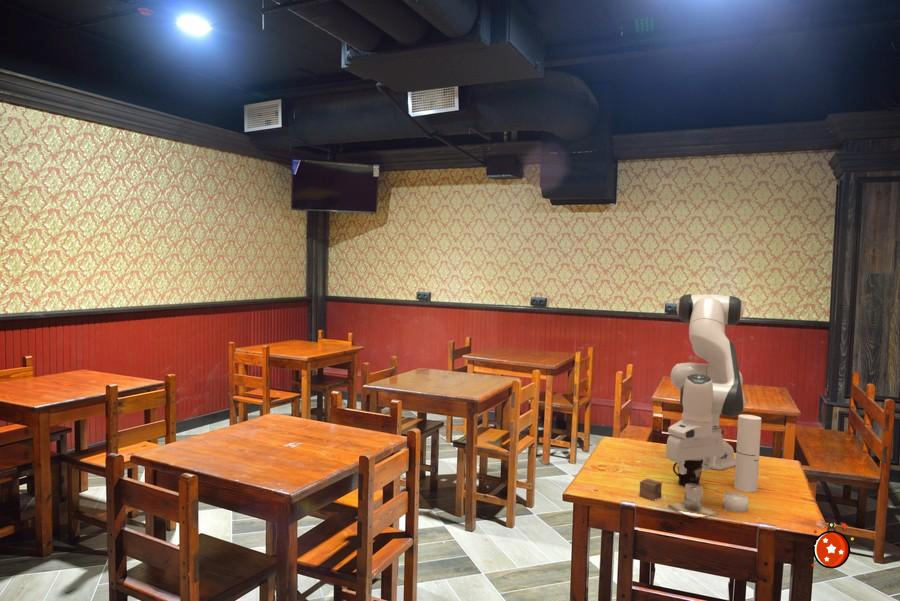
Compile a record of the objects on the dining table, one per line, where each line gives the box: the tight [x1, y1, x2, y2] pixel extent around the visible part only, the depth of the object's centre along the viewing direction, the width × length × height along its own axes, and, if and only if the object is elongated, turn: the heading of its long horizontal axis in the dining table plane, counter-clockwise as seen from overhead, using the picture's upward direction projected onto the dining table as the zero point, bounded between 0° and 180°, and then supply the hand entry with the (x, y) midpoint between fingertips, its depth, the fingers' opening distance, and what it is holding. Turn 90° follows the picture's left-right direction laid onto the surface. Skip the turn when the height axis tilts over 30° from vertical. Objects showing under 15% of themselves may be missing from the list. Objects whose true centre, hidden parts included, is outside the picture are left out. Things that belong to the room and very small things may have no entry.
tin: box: [683, 483, 704, 511], centre depth 187 cm, size 5×5×7 cm
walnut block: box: [638, 478, 663, 501], centre depth 198 cm, size 5×5×5 cm
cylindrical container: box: [733, 414, 762, 493], centre depth 209 cm, size 7×7×25 cm
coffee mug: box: [672, 458, 704, 488], centre depth 211 cm, size 12×9×10 cm
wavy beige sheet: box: [667, 501, 718, 516], centre depth 187 cm, size 10×10×1 cm
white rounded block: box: [722, 491, 749, 514], centre depth 191 cm, size 7×7×4 cm
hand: (694, 471), depth 187 cm, fingers open, 8 cm apart
